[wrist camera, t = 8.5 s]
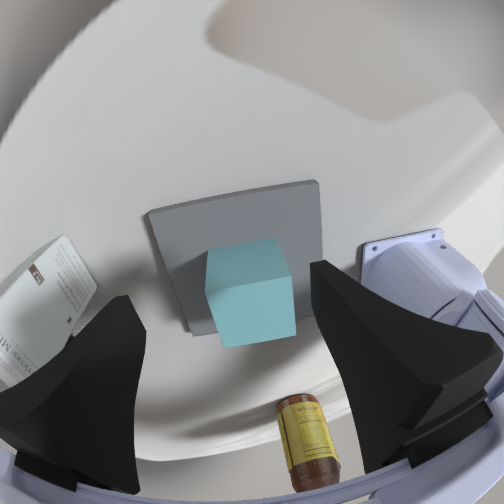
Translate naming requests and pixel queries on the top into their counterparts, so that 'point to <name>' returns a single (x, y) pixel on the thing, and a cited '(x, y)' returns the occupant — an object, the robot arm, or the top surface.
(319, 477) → the sauce bottle
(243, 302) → the teal cube
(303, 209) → the rubber mat
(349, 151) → the top surface
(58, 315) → the skincare box
